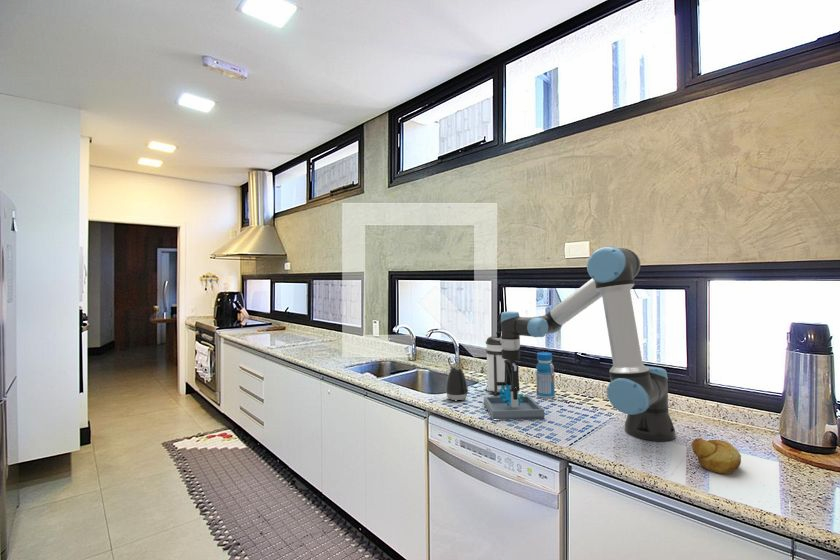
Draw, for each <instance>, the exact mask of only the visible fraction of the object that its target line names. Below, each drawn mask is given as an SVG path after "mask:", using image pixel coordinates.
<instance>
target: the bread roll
mask: <svg viewBox="0 0 840 560" xmlns="http://www.w3.org/2000/svg"><path fill="white" fill-rule="evenodd" d="M691 449H692V452H693V454H694V456H696V457H697V461H698V463H699V464H700V465H701V466H702V467H703V468H704V469H706V470H708V471H710V472H715V473H719V474H725V475H727V474H730V473H732V472H734V471H736V470H737V469H739V468H740V466H741V464H742V455H741V453H740V452H739V450H738V449H737V448H736V447H735V446H734V445H733V444H732V443H730V442H728V441H725V440H721V439H710V440H705V439H703V438H700V437H699V438H695V439H694V440H693V441H692V442H691Z"/></svg>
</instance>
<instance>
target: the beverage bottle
mask: <svg viewBox="0 0 840 560" xmlns="http://www.w3.org/2000/svg"><path fill="white" fill-rule="evenodd" d="M536 356H537V357H536V359H537V361H538V362H537V363H536V366H535V369H536V371H535V376H536V377H535V378H536V381H535V383H536V396H537V397H539V398H543V399H552V398H554V397H555V396H556V391H555V388H556V387H555V371H554V370H555V366H554V364H553V363H552V361H553V353H551V352H547V351H542V352H537V354H536Z"/></svg>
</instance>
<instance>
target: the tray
mask: <svg viewBox="0 0 840 560" xmlns="http://www.w3.org/2000/svg"><path fill="white" fill-rule="evenodd" d="M503 398H504V397H500V395H499V396H498V395H497V396H484V397H483V405H485V406H484V407H485V409H486V408H487V409H486V411H487V410H488V411H487V413H488V414H489V413H490V414H489V416H490V415H491V416H490V417H492V418H493V419H527V420H544V419H545V409H544V408H543V407H542V406H541V405H540V404H539V403H538V402H536V401H535V400H534V399H533V398H532V397H531V395H523V396H522V397H521V399H522V401H521V403H520V402H519V401H518V402H519V403H520V405H519V407H511V403H510V406H508V405H507V403H508V402H509V401H508V402H507V403H505V402H503V401H502V399H503ZM504 399H505V398H504ZM492 418H491V419H492ZM493 419H492V420H493Z"/></svg>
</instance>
